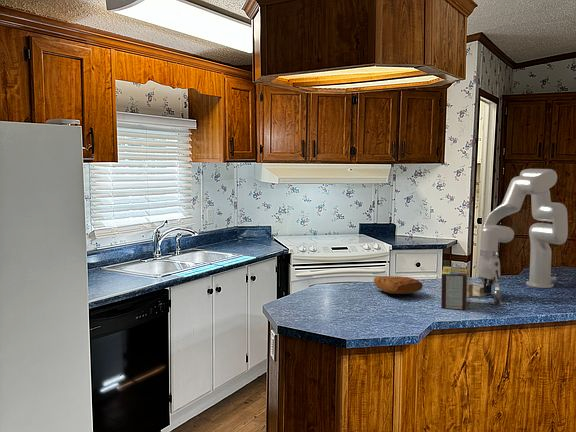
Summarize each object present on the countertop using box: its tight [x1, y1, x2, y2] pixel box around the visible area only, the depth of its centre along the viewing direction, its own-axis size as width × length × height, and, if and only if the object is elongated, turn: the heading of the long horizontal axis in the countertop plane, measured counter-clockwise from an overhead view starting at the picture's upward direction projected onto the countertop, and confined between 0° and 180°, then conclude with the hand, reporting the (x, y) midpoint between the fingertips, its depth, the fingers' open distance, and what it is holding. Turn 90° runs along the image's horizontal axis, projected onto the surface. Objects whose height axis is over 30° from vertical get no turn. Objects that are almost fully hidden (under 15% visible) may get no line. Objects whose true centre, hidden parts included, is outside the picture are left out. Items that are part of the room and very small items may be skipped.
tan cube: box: [473, 284, 488, 297], centre depth 244 cm, size 4×4×4 cm
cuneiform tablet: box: [373, 275, 424, 295], centre depth 247 cm, size 22×17×8 cm
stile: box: [467, 282, 474, 298], centre depth 241 cm, size 3×3×6 cm
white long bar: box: [494, 282, 500, 290], centre depth 237 cm, size 14×2×5 cm, turn 159°
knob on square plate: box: [488, 289, 506, 307], centre depth 228 cm, size 5×5×6 cm
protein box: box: [440, 266, 468, 311], centre depth 227 cm, size 10×15×16 cm
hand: (487, 292), depth 239 cm, fingers closed
